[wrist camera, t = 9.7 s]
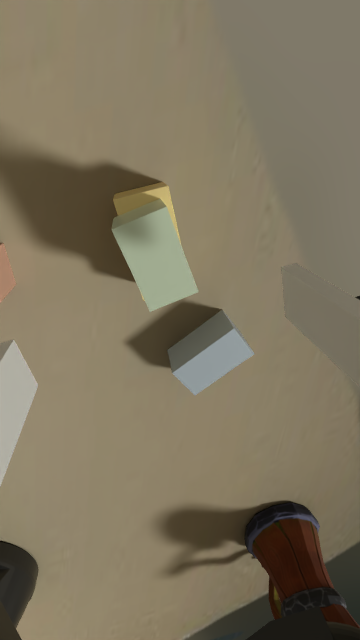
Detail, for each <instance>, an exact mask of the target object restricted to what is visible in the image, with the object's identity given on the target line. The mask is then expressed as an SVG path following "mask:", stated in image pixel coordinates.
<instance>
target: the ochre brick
mask: <svg viewBox="0 0 360 640" xmlns="http://www.w3.org/2000/svg"><path fill="white" fill-rule="evenodd" d="M158 199H161V200H162V201H163V203H164V204H165V205H166V206H167V209H168V212H169V214H170V217H171V220H172V222H173V225H174V228H175V230H176V233H177V236H178V238H179V241H180V237H179V233H178V228H177V224H176V219H175V215H174V210H173V205H172V201H171V196H170V192H169V187H168V185H166V184H165V183H164V182H160V183H156V184H152V185H148V186H144V187H140V188H136V189H132V190H128V191H124V192H120V193H116V194H115V195H114V198H113V202H114V205H115V208H116V212H117V215H118V216H119V215H122V214H124V213H127V212H129V211H131V210H134V209H136V208H139V207H141V206H143V205H146V204H148V203H150V202H153V201H155V200H158ZM180 244H181V242H180ZM140 292H141V291H140ZM141 295H142V294H141ZM142 298H143V296H142ZM143 301H145V300H144V298H143Z"/></svg>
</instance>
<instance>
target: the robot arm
mask: <svg viewBox="0 0 360 640" xmlns="http://www.w3.org/2000/svg"><path fill="white" fill-rule="evenodd" d="M281 272H282V284H283V297H284V309H285V317H286V318H287V319H288V320H289V321H290V322H291V323H292V324H293V325H294V326H295V327H297V328H298V329H299V330H300V331H301V332H302V333H303V334H304V335H305V336H306V337H307V338H308V339H309V340H310V341H311V342H312V343H313V344H314V345H316V346H317V347H318V348H319V349H320V350H321V351H322V352H323V353H324V354H325V355H326V356H327V357H328V358H329V359H330V360H331V361H332V362H333V363H335V364H336V365H337V366H338V367H339V368H340V369H341V370H342V371H343V372H344V373H345V374H346V375H347V376H348V377H349V378H350V379H351V380H352V381H354V382H355V383H356V384H357V385H358V386H359V387H360V296H357V297H354V296H352V295H350V294H348V293H347V292H345V291H343V290H341V289H340V288H338V287H336V286H335V285H333V284H331V283H329V282H328V281H326V280H324V279H323V278H321V277H319V276H317V275H316V274H314V273H312V272H310V271H309V270H307V269H305V268H304V267H302V266H300V265H298V264H297V263H295V264H291V265H288V266H284V267H281ZM37 387H38V384H37V382H36V380H35V378H34V376H33V375H32V373H31V371H30V369H29V367H28V365H27V363H26V361H25V360H24V358H23V356H22V354H21V352H20V350H19V348H18V346H17V345H16V343H15V341H14V340H10V341H7V342H3V343H0V486H1V483H2V480H3V478H4V475H5V472H6V470H7V467H8V464H9V462H10V459H11V456H12V454H13V451H14V448H15V446H16V443H17V440H18V438H19V435H20V432H21V430H22V427H23V424H24V422H25V419H26V416H27V414H28V411H29V408H30V406H31V403H32V400H33V398H34V395H35V392H36V390H37ZM37 576H38V565H37V563H36V561H35V560H34V558H33V557H32V556H31V555H30V554H29V553H27V552H26V551H24V550H22V549H20V548H18V547H16V546H13V545H10V544H7V543H3V542H0V640H22V639H21V638H20V636H19V634H18V632H17V630H16V627H17V625H18V623H19V621H20V619H21V617H22V615H23V613H24V611H25V609H26V606H27V604H28V602H29V601H30V599H31V597H32V595H33V593H34V589H35V585H36V580H37ZM246 640H360V628H357V627H354V626H351V625H347V624H342V623H337V622H326V620H325V618H324V616H323V613H322V611H321V609H320V607H319V606H317V607H314V608H310V609H307V610H304V611H301V612H298V613H295V614H292V615H289V616H285V617H282V618H279V619H276V620H273V621H270V622H269V623H267V624H266V625H265V626H263V627H262V628H261V629H260V630H258V631H257V632H256V633H254V634H253V635H252V636H250V637H249V638H248V639H246Z"/></svg>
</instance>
